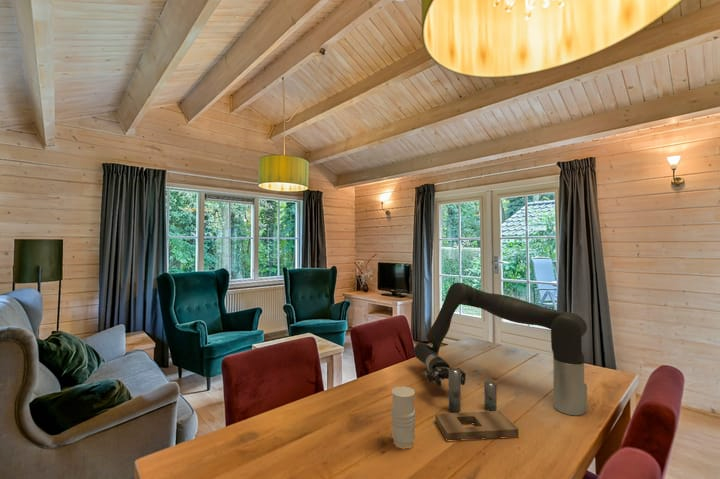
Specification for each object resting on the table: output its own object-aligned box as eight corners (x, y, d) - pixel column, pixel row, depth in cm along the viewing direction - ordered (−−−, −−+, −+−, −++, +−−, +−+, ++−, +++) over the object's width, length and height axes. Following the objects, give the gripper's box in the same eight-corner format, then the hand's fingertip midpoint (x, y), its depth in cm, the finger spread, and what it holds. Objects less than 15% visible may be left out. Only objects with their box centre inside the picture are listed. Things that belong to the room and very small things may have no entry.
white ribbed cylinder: (414, 451, 94) (414, 398, 95) (390, 448, 96) (390, 395, 96) (415, 437, 101) (415, 387, 101) (392, 435, 103) (392, 385, 103)
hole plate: (499, 418, 112) (499, 410, 112) (518, 437, 101) (518, 429, 101) (435, 421, 110) (435, 413, 110) (447, 441, 99) (447, 433, 99)
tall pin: (457, 407, 120) (457, 367, 120) (462, 412, 116) (462, 371, 116) (447, 407, 119) (446, 368, 119) (451, 413, 115) (451, 372, 115)
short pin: (493, 405, 121) (493, 380, 121) (498, 411, 117) (498, 385, 117) (482, 406, 121) (482, 380, 121) (487, 411, 117) (487, 385, 117)
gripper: (420, 357, 136) (432, 373, 120) (454, 356, 137) (471, 371, 121) (420, 376, 136) (432, 394, 120) (454, 374, 137) (471, 392, 121)
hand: (451, 382), depth 120 cm, fingers open, 8 cm apart
